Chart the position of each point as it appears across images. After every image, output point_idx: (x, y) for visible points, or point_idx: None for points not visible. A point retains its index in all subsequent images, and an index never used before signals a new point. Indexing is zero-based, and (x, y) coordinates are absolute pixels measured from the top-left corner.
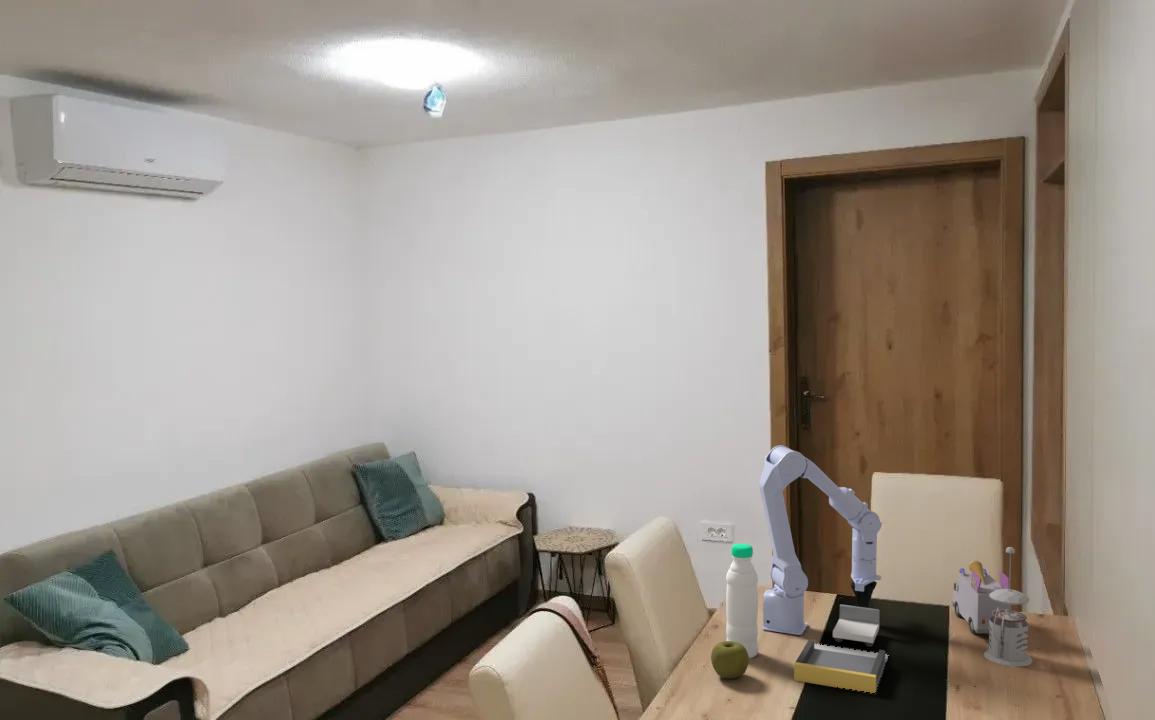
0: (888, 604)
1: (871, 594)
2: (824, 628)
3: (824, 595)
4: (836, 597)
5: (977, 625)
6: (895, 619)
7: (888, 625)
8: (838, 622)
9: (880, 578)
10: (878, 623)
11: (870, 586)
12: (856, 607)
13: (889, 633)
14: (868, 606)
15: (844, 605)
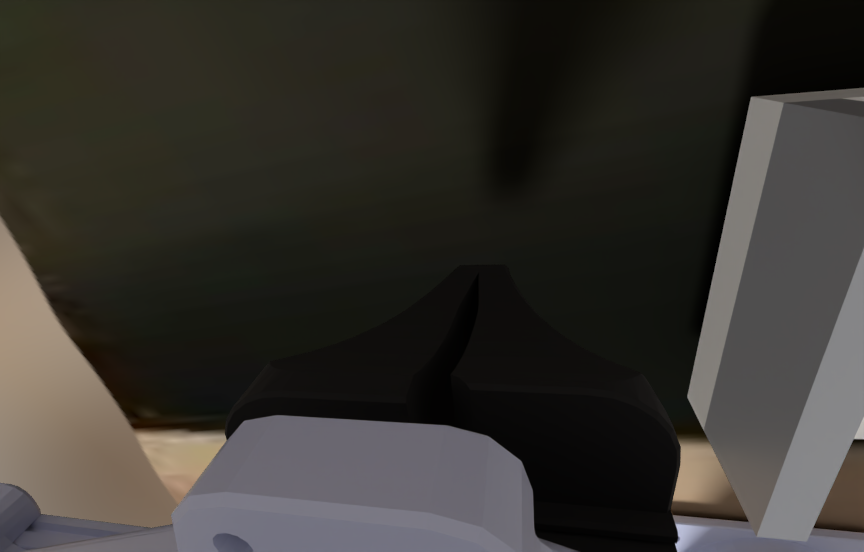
0: (41, 166)
1: (568, 345)
2: (689, 441)
3: (182, 471)
4: (166, 428)
5: None
6: (280, 44)
7: (449, 66)
8: (857, 433)
9: (454, 484)
10: (846, 100)
11: (542, 461)
12: (850, 411)
13: (658, 5)
14: (514, 285)
15: (790, 509)
